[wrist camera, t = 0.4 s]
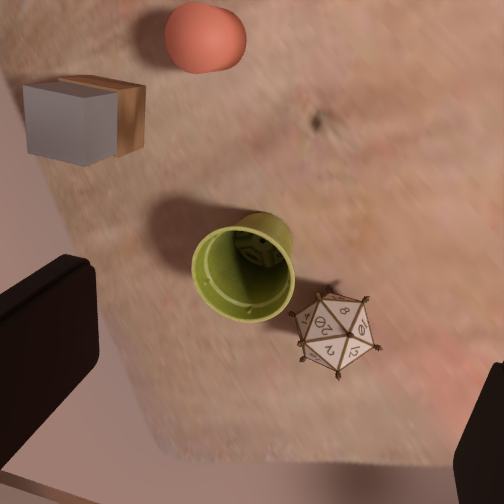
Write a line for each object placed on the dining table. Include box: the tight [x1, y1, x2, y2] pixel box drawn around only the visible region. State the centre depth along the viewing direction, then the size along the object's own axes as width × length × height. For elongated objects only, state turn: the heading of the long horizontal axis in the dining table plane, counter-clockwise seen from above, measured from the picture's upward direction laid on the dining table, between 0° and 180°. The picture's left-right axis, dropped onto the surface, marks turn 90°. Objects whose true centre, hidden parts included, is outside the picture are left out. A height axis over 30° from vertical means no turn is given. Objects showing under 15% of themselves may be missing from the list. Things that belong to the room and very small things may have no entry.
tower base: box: [59, 75, 146, 157], centre depth 43 cm, size 6×6×5 cm
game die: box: [287, 285, 383, 381], centre depth 44 cm, size 9×8×10 cm
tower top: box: [22, 81, 118, 167], centre depth 39 cm, size 6×6×5 cm
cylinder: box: [165, 2, 246, 74], centre depth 37 cm, size 5×5×6 cm
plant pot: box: [191, 212, 295, 323], centre depth 43 cm, size 9×9×9 cm
